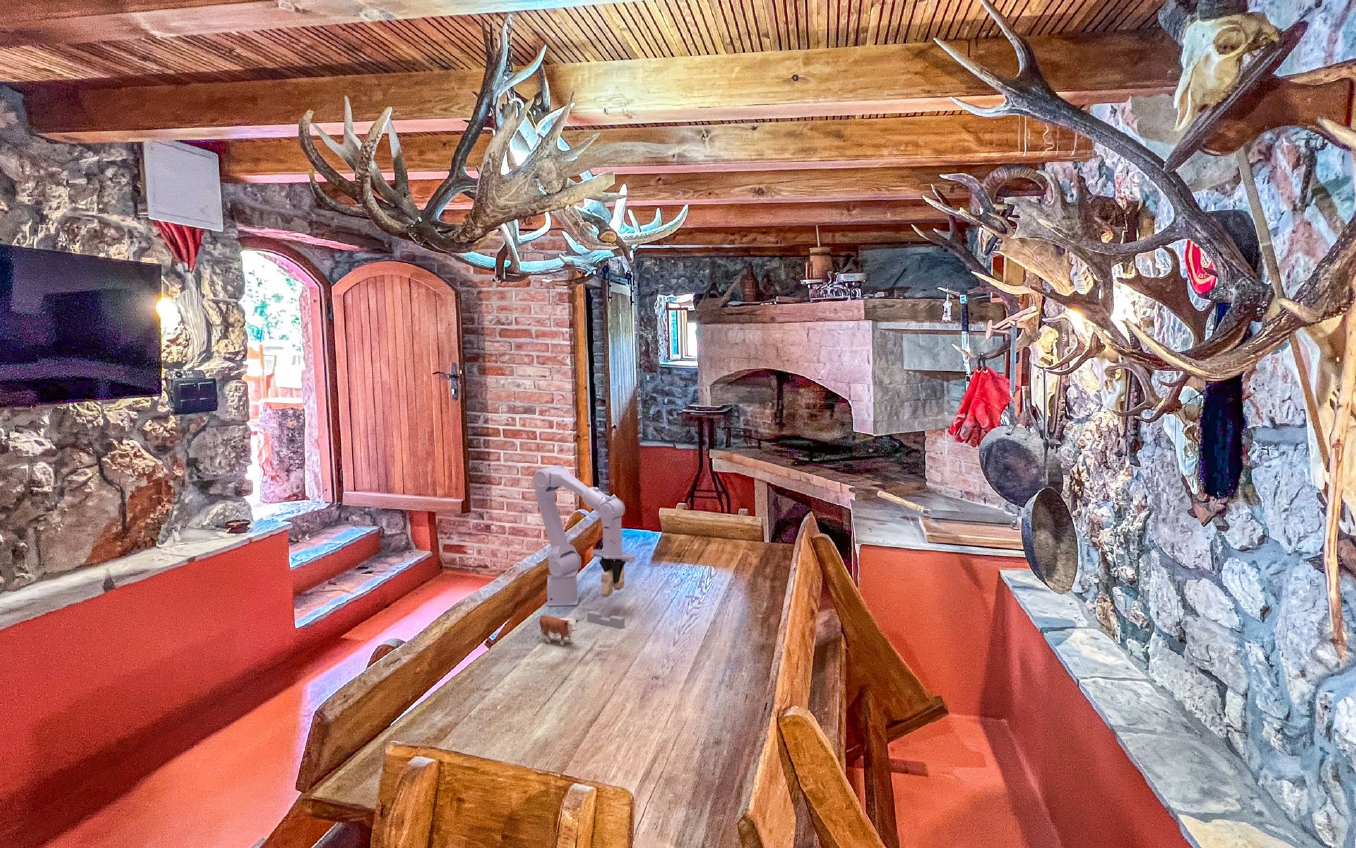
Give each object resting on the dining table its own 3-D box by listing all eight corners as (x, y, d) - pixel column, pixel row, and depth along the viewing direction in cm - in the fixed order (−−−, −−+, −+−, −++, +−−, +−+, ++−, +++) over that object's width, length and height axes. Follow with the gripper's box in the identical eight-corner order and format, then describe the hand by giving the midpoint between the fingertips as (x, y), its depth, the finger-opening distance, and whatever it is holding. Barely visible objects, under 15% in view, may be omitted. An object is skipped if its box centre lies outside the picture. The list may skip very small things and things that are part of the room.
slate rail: (587, 621, 226) (587, 612, 226) (590, 619, 228) (590, 610, 228) (621, 628, 221) (621, 619, 221) (624, 626, 222) (624, 617, 222)
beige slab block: (606, 597, 227) (606, 575, 226) (601, 596, 228) (601, 574, 227) (624, 587, 236) (623, 565, 235) (619, 586, 237) (619, 564, 236)
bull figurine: (573, 651, 206) (573, 622, 205) (536, 640, 213) (535, 613, 212) (583, 645, 210) (583, 617, 208) (547, 635, 217) (546, 608, 216)
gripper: (585, 539, 230) (586, 582, 232) (625, 545, 223) (626, 589, 225) (598, 533, 236) (599, 575, 238) (637, 539, 229) (638, 582, 231)
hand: (613, 582), depth 232 cm, fingers closed on beige slab block, 2 cm apart
